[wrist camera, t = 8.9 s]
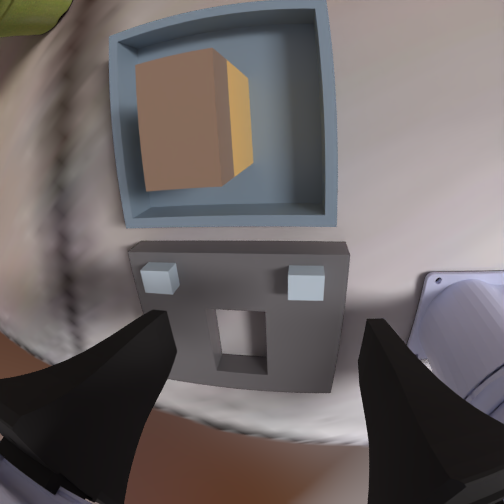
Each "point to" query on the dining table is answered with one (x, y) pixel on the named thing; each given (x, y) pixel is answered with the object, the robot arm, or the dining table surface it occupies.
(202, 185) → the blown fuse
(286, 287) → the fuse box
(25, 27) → the plant pot
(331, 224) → the parts tray
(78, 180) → the dining table surface
